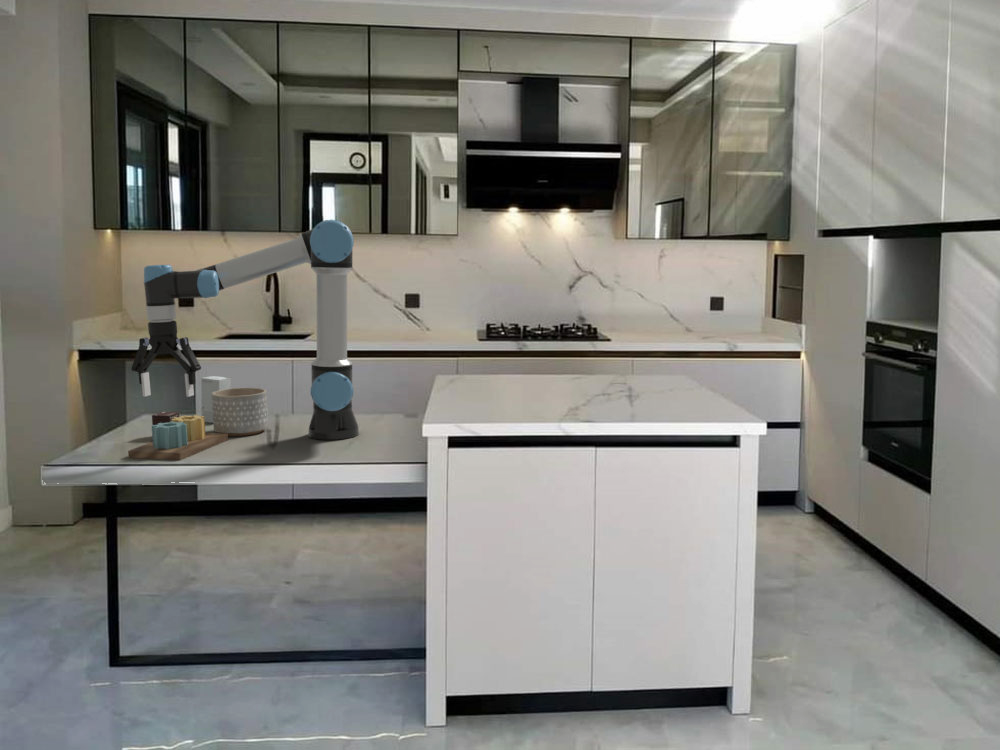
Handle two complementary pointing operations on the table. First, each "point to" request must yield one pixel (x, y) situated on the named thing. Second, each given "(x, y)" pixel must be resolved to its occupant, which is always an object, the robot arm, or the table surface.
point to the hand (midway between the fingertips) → (168, 396)
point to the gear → (169, 435)
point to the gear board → (178, 453)
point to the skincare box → (207, 389)
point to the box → (163, 417)
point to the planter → (240, 411)
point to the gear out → (193, 426)
